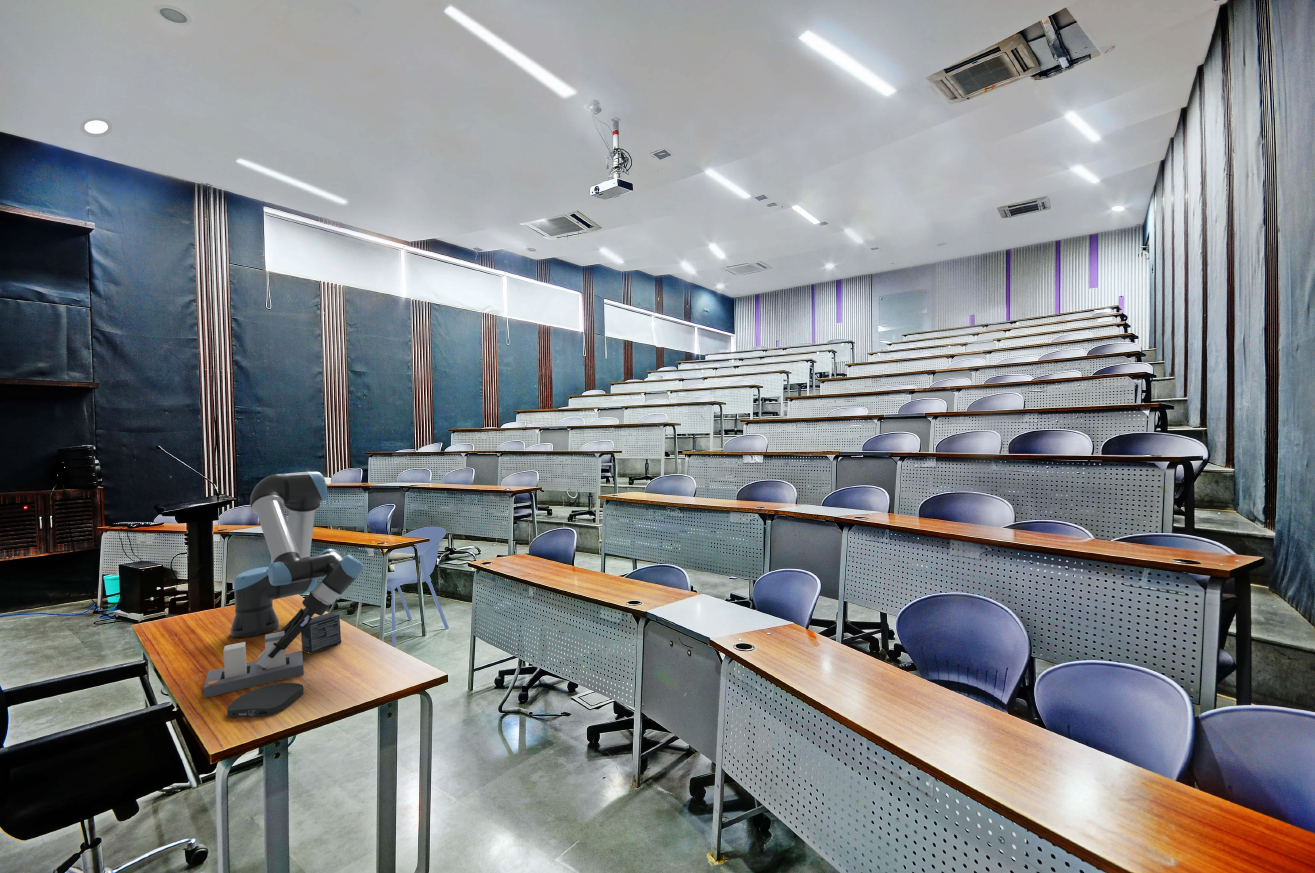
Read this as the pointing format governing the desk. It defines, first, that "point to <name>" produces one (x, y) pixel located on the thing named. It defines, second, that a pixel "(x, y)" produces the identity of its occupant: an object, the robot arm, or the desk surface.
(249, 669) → the gray slotted dock
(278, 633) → the white plug
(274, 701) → the media streaming box
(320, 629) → the small box
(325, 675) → the desk surface
